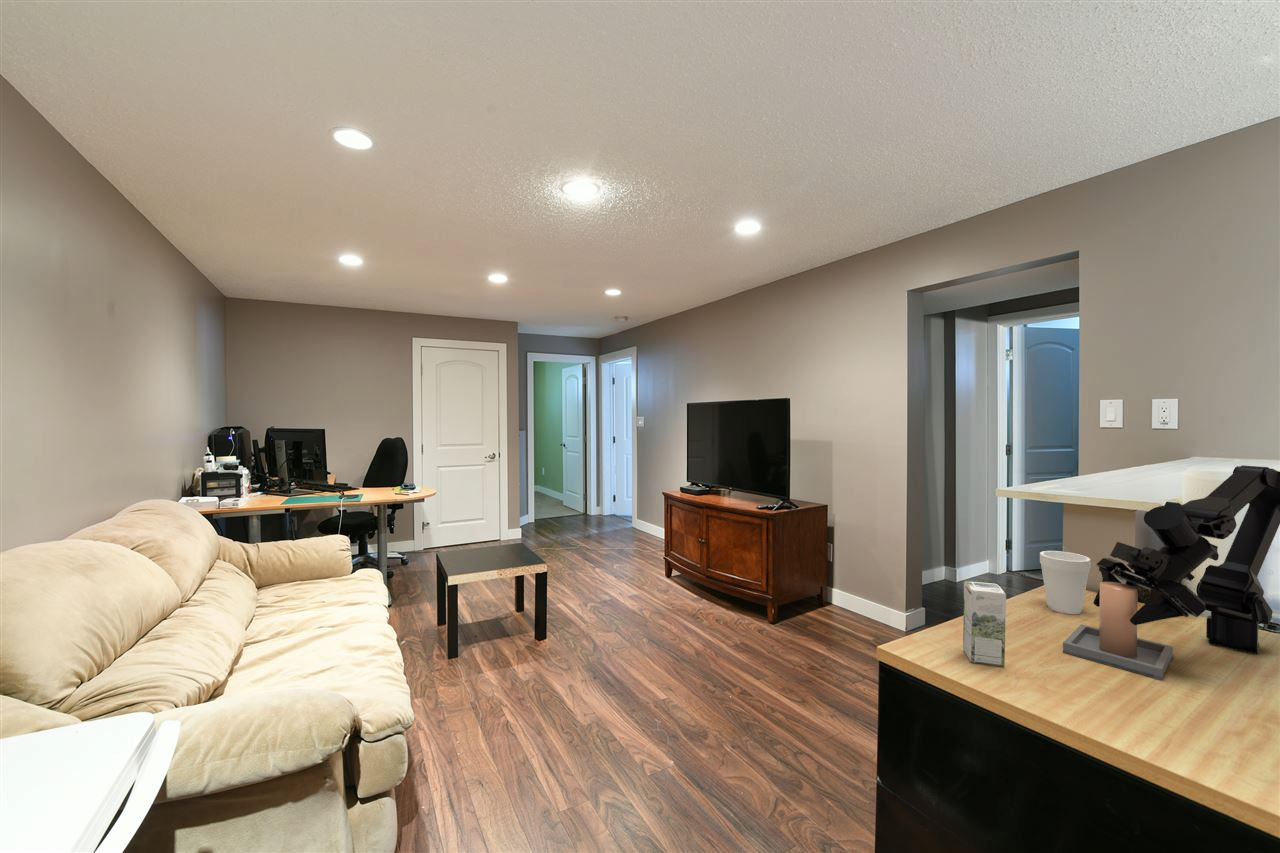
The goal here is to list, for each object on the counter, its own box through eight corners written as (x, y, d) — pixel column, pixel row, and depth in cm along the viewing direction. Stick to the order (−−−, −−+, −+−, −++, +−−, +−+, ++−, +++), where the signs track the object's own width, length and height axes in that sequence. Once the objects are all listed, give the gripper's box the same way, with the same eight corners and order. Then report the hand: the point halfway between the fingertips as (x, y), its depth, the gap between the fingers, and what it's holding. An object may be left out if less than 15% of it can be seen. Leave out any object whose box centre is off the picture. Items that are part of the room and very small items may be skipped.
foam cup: (1100, 616, 121) (1101, 561, 121) (1060, 617, 121) (1060, 561, 121) (1067, 601, 130) (1068, 550, 130) (1030, 602, 131) (1030, 550, 130)
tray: (1173, 656, 101) (1173, 646, 101) (1161, 680, 93) (1161, 669, 93) (1081, 633, 112) (1081, 624, 112) (1062, 652, 104) (1063, 642, 104)
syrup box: (995, 654, 103) (996, 582, 103) (1005, 668, 98) (1006, 592, 97) (962, 650, 105) (963, 579, 105) (970, 663, 100) (971, 589, 99)
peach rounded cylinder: (1139, 651, 102) (1140, 586, 102) (1134, 660, 99) (1134, 593, 98) (1102, 642, 106) (1103, 579, 106) (1096, 650, 103) (1096, 585, 103)
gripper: (1106, 519, 111) (1050, 570, 112) (1188, 541, 92) (1119, 601, 94) (1147, 557, 110) (1089, 607, 112) (1237, 586, 91) (1166, 646, 93)
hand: (1112, 613), depth 102 cm, fingers open, 9 cm apart
